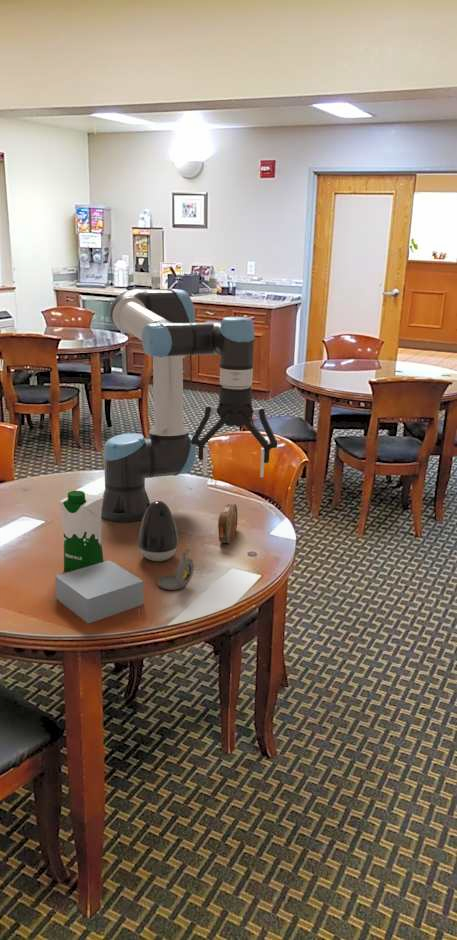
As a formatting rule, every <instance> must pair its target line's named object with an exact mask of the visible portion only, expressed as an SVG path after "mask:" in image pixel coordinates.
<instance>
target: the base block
mask: <svg viewBox="0 0 457 940" xmlns="http://www.w3.org/2000/svg"><path fill="white" fill-rule="evenodd" d="M54 578H55V593H56V596H55V597H56V600H57V601H58V602H60V603H61V604H62V605H63V606H65V608H68V609H69V610H70V611H71V612H73V613H74V614H75V615H76V616H78V617H79V618H80V619H81V620H83V621H84V622H85V623H87V624H91V623H94V622H96V621H100V620H102V619H104V618H105V619H106V618H108V617H111V616H114V615H116V614H119V613H123V612H126V611H129V610H130V609H134V608H137V607H140V606H142V605H144V581H143V580H142V579H140V578H139V577H137V576H135V575H134V574H132V573H131V572H129V571H128V570H126V569H124V568H122V567H121V566H119V565H118V564H117V563H115V562H114V561H111V560H105V561H104V562H102V563H98V564H95V565H91V566H88V567H85V568H81V569H78V570H74V571H68V572H64V573H61V574H57V575H55V577H54Z"/></svg>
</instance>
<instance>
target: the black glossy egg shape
mask: <svg viewBox="0 0 457 940" xmlns="http://www.w3.org/2000/svg"><path fill="white" fill-rule="evenodd" d="M176 525H177V524H176V522H175V518H174V516H173V513H172V511H171V509H170V507H169V506H168V504H166V503H165V502H164V501H161V500H155V501H152V502H150V505H149V506H148V508H147V509H146V511H145V513H144V516H143V519H141V523H140V527H139V532H138V539H137V546H138V548H139V550H140V553H141V555H142V556H143V557H144V558H145V559H147V560H148V561H151V562H163V561H166V560H169V559H170V558H172V557H173V555H174V554H175V553H176V551H177V547H178V545H179V536H178V531H177V530H178V529H177V526H176Z"/></svg>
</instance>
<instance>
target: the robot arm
mask: <svg viewBox="0 0 457 940" xmlns="http://www.w3.org/2000/svg"><path fill="white" fill-rule="evenodd" d="M108 313H109V318H110V321H111V323H112V325H113V326H114V327H115V329H117V330H119V331H120V332H121V333H124V334H128V335H129V334H131V335H133V336H134V337H136V338H137V339H138V340H141V345H142V349H143V350H144V353H145V355H147V356H148V357H152V376H153V377H152V378H153V379H152V382H153V383H152V384H153V385H152V386H153V420H154V421H153V427H151V429H150V430H148V433H149V436H148V438H145V436H144V435H143V434H141V433H135V432H134V433H131V432H130V433H122V434H118V435H115V436H112V437H111V438H109V439H107V440H106V441H105V443H104V448H103V450H104V452H103V456H102V457H103V459H104V461H103V462H104V464H103V466H104V467H103V468H104V491H103V493H102V497H104V498H103V504H102V511H101V518H102V519H105V520H107V521H111V522H117V523H119V522H121V523H129V522H136V521H142V519H143V516H144V513H145V511H146V509H147V508H148V506H149V505H150V504H151V502H150V499H149V495H148V493H147V490H146V486H145V485H146V484H145V483H146V479H149V478H150V479H151V478H160V477H169V476H174V477H176V476H178V475H179V476H180V475H184V474H187V473H189V472H190V471H191V470H192V468H193V466H194V465H195V462H196V457H197V447H198V461H202V475H203V476H204V475H205V476H206V475H207V473H208V449H209V447H208V444H207V443H208V442H209V441H210V439H211V438H213V436H214V435H215V434H216V433H217V432H218V431H219V430H220V429H221V428H222V427H223V426H224V424H225V425H226V426H227V427H234V426H235V427H243V426H245V428H247V430H248V431H249V432H250V433H251V434H252V436H253V437H254V438H255V439H256V440H257V442H258V444H260V445H261V449H260V467H259V468H260V473H259V474H260V475H259V478H264V474H265V472H264V471H265V464H268V463H269V462H270V451H271V449H276V448H277V447H278V440H277V438H276V436H275V433H274V431H273V430H272V427H271V425H270V423H269V421H268V419H267V416H266V409H265V407H264V406H260V407H257V408H253V404H252V401H253V400H252V399H253V388H252V387H251V386H252V384H253V375H254V350H255V348H254V346H255V344H254V343H255V337H256V336H255V335H256V334H255V323H254V320H253V319H252V318H251V317H243V316H227V317H226V316H225V317H223V318H222V320H207V321H205V322H204V321H203V322H202V321H201V322H196V312H195V307H194V304H193V301H192V299H191V296H190V295H189V294H188V292H187V291H185V290H184V289H177V288H176V289H175V288H149V289H148V288H145V289H143V288H142V289H141V288H133V289H130V290H127V291H124V292H122V293H120V294H118V295H117V296H116V297H115V298H114V299H113V301H112V302H111V304H110V306H109V312H108ZM207 355H212V356H213V355H217V356H220V357H219V384H220V385H221V386H220V387H219V392H218V394H219V395H218V406H213V405H211V404H207V405H206V407H205V409H204V415H203V418H202V419H201V421H200V423H199V425H198V427H197V428H196V430H195V432H194V435H193V436H192V435H191V434H189V432H190V431H189V429H188V428H187V427H186V426H185V425H184V378H183V377H184V374H183V373H184V369H183V367H184V362H183V359H184V358H183V356H207ZM215 413H217V414H218V417H219V419H218V421H217V422H216V423H215V424H214V425H213V426H212V428H210V429H209V430H208V431H207V433H206V434H204V436H203V437H202V438H201V439H200V438H199V437H200V436H201V434H202V432H203V430H204V428H205V426H206V425H207V423H208V421H209V419H210V417H212V416H214V414H215ZM253 415H256V418H259V420H260V423H261V425H262V428H263V429H264V431H265V433H266V436H267V438H268V440H269V441H268V440H267V439H266V437H264V435H263V434H262V433H261V432H260V430H259V429H258V428H257V426H256V425H255V424H254V423H253V421H252V420H251V417H252V416H253Z"/></svg>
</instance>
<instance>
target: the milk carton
mask: <svg viewBox="0 0 457 940" xmlns="http://www.w3.org/2000/svg"><path fill="white" fill-rule="evenodd" d="M103 498H104V497H103V496H99V495H95V494H89V493H85V492H84V491H81V490H71V491H69V492H68V493H67V497H65V498H63V499H61V500H59V501H58V503H59V507H60V511H61V515H62V536H63V570H64V571H68V572H71V571H74V570H78V569H81V568H85V567H88V566H91V565H95V564H98V563H102V562H105V561H104V553H103V541H102V540H103V539H102V538H103V534H102V517H101V511H102V504H103Z"/></svg>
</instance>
